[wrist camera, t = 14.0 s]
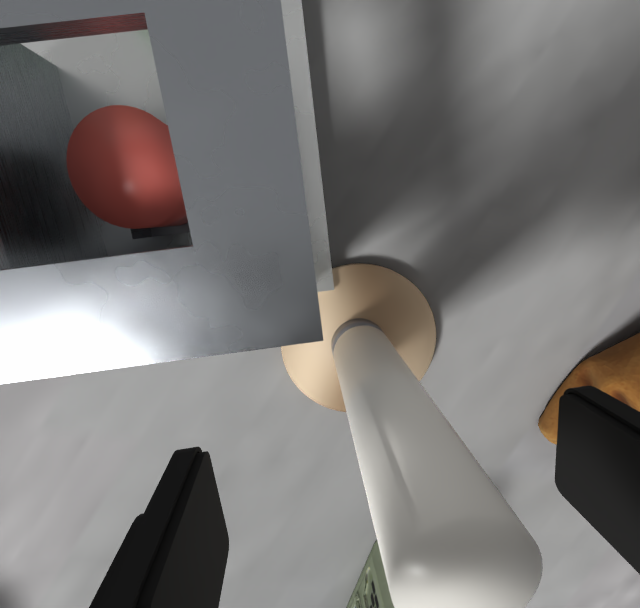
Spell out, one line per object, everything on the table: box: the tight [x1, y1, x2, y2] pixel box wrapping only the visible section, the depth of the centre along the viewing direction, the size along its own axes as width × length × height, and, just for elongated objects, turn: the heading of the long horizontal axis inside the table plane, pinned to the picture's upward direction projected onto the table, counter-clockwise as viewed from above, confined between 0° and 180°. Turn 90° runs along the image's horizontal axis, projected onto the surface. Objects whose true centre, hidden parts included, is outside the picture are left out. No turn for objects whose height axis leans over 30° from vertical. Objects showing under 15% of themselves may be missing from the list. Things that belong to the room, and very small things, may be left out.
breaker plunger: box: [66, 105, 188, 229], centre depth 12 cm, size 3×3×4 cm
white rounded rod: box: [331, 318, 542, 608], centre depth 12 cm, size 3×3×12 cm
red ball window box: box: [0, 0, 334, 384], centre depth 11 cm, size 12×20×9 cm, turn 7°
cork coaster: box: [281, 263, 436, 412], centre depth 18 cm, size 8×8×1 cm
